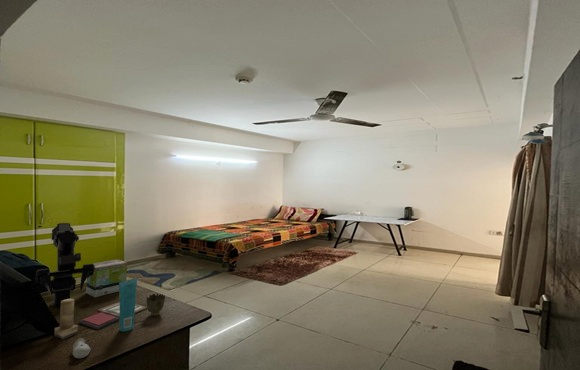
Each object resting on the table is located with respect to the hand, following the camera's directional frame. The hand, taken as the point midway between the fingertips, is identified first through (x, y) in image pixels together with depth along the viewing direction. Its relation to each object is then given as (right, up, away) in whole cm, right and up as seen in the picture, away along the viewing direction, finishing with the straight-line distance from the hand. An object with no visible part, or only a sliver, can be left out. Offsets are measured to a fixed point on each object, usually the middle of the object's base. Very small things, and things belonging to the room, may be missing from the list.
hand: (66, 292), depth 116 cm
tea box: (-7, -13, +37) cm, 40 cm away
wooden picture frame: (+12, -14, +17) cm, 25 cm away
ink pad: (+10, -14, +5) cm, 17 cm away
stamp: (+4, -14, -6) cm, 15 cm away
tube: (+23, -15, 0) cm, 27 cm away
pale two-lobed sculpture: (+18, -15, -17) cm, 29 cm away
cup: (+28, -15, +13) cm, 35 cm away
